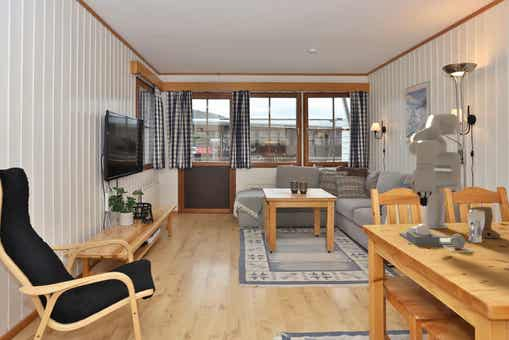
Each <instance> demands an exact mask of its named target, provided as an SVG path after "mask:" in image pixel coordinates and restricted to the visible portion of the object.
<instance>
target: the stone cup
mask: <svg viewBox="0 0 509 340" xmlns="http://www.w3.org/2000/svg"><path fill="white" fill-rule="evenodd" d="M470 210H483V211H485V223H484V228H483V232H482V238H484V239H498V238H501V236H502V235H501V234H500V233H498V232H497V231H496V230H494V229H492V222H493V216H494V215H493V208H492V207H491V206H486V205H485V206H473V207H471V208H470Z"/></svg>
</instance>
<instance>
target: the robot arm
mask: <svg viewBox="0 0 509 340" xmlns="http://www.w3.org/2000/svg"><path fill="white" fill-rule="evenodd" d="M460 130H461V122H460V120H459V118H458V116H457V115H456V114H454V113H436V114H435V113H434V114H432V115H430V116H428V117H427V120H426V121H425V124H424V128H423V129H420V130H419V131H418V132H415V133H414V134H413V135H412V137H411V139H410V141H409V145H408V151H409V154H410V155H411V156H415V157H416V160H415V169H414V170H413V173H412V178H411V193H413V194H416V195H417V196H418V197H419V205H420V206H421V207H425V218H424V219H425V221H424V222H423V223H422V224H426V225H427V226H428V227H429V229H433V230H435V229H436V230H442V229H447V228H448V225H447V224H445V211H446V210H445V208H446V205H445V204H446V197H445V193H444V192H443V191H442V189H450V190H451V189H453V190H455V189H459V187H460V186H461V175H462V174H461V172H462V156H461V154H460V153H459V152H457V151H447V150H448V149H447V148H448V144H447V141H446V139H444V137H442V136H455V135H457V134H459V133H460ZM435 169H439V170H435ZM441 169H442V170H441ZM447 170H448V171H447ZM450 170H451V171H450Z"/></svg>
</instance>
